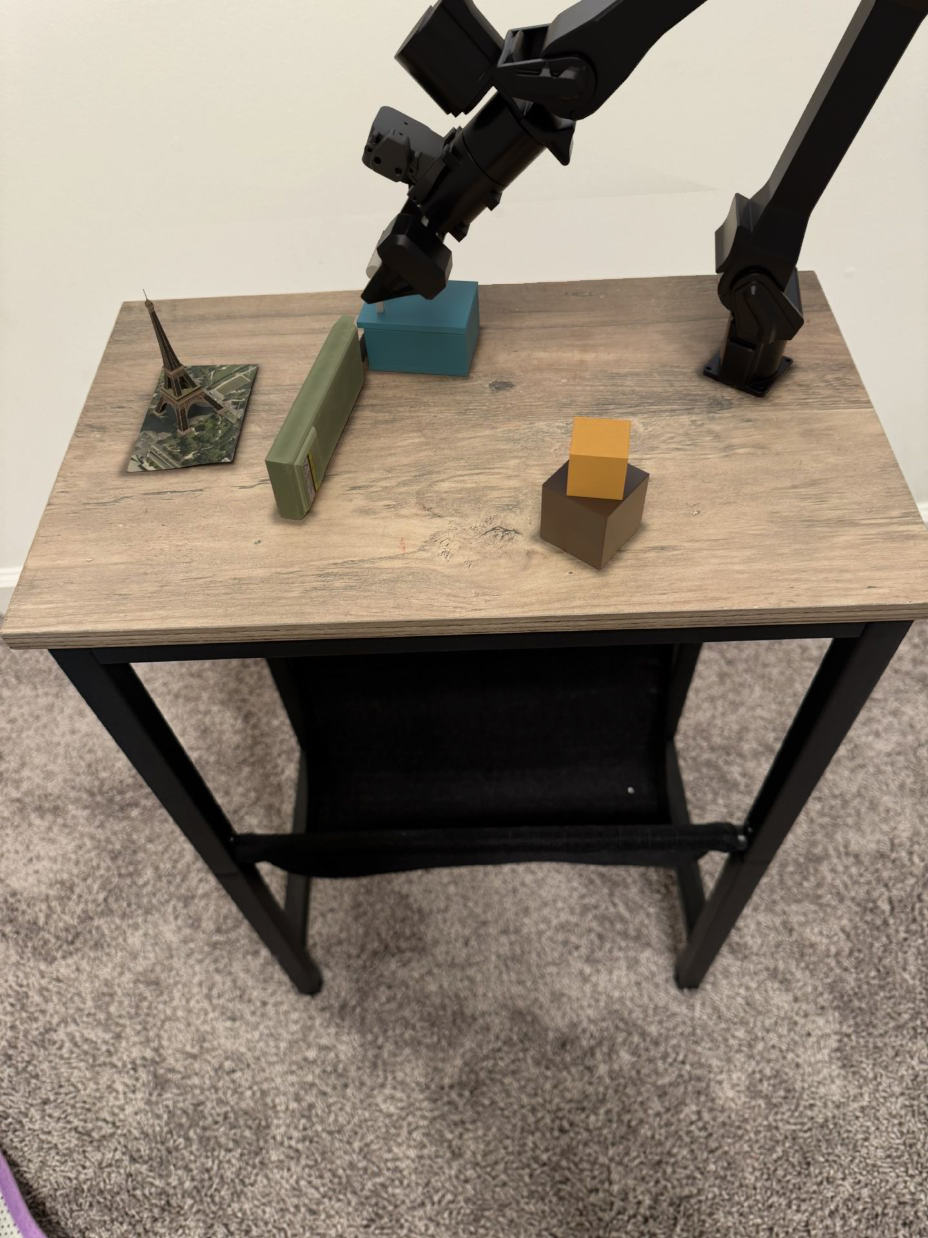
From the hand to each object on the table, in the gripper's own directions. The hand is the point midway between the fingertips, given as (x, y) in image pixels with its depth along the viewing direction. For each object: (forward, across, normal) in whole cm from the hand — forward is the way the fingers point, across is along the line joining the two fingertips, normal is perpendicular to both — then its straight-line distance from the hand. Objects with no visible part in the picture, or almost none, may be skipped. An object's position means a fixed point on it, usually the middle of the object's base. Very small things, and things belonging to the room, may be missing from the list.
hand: (375, 272), depth 79 cm
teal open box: (+3, 0, +9) cm, 9 cm away
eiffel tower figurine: (+17, +13, -5) cm, 22 cm away
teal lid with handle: (0, 0, +5) cm, 5 cm away
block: (-15, +24, +18) cm, 33 cm away
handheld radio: (+7, +13, +4) cm, 15 cm away
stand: (-10, +24, +22) cm, 34 cm away
